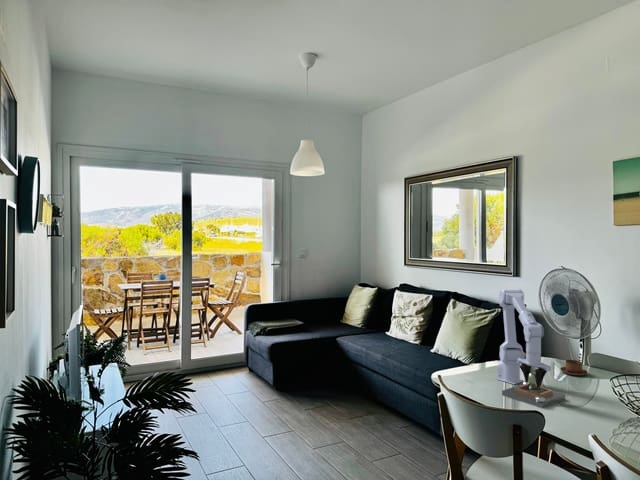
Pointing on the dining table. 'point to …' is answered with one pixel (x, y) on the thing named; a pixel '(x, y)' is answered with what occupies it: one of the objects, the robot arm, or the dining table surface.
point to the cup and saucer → (573, 368)
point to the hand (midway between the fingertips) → (533, 383)
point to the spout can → (532, 381)
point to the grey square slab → (533, 395)
